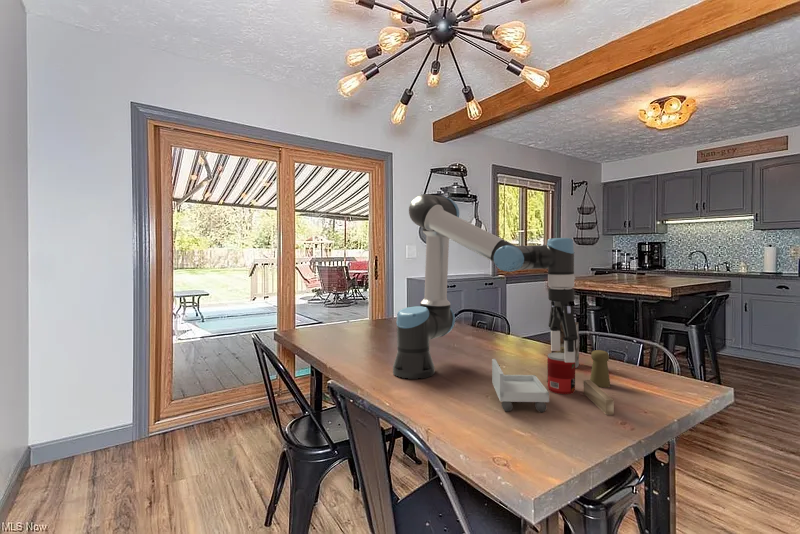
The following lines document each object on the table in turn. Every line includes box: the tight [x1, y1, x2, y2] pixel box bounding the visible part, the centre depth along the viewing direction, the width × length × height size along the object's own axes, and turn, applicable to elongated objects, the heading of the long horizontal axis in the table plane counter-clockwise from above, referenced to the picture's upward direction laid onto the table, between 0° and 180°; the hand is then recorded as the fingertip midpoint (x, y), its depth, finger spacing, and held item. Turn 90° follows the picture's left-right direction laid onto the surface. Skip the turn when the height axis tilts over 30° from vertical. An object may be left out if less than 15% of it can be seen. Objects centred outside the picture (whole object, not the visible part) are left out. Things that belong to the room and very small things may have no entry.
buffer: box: [582, 379, 615, 416], centre depth 113 cm, size 2×16×4 cm, turn 175°
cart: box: [491, 358, 550, 413], centre depth 115 cm, size 13×15×10 cm
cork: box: [589, 349, 611, 389], centre depth 128 cm, size 6×6×11 cm
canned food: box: [547, 352, 576, 395], centre depth 123 cm, size 8×8×11 cm
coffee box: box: [550, 321, 580, 369], centre depth 150 cm, size 9×6×16 cm
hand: (562, 356), depth 123 cm, fingers open, 13 cm apart
